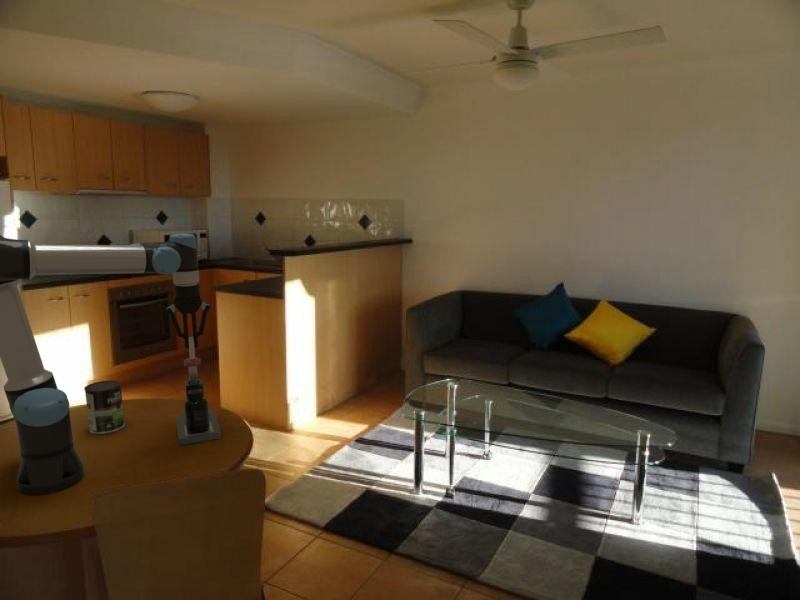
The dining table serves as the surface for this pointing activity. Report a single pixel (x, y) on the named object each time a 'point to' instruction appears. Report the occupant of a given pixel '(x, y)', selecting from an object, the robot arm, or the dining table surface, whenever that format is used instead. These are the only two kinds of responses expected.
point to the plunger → (192, 369)
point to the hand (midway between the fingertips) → (192, 357)
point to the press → (196, 437)
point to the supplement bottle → (196, 411)
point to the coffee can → (104, 407)
